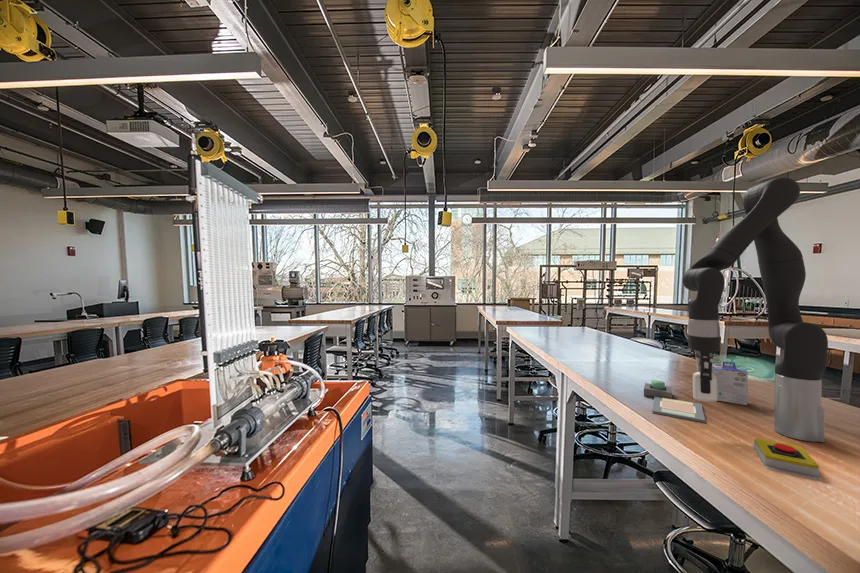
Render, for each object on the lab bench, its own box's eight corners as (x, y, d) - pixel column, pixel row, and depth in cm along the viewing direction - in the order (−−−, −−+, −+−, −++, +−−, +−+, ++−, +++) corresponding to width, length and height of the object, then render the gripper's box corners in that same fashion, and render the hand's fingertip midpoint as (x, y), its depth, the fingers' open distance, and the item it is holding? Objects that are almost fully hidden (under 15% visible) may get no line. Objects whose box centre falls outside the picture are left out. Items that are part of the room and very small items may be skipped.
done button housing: (672, 394, 133) (672, 386, 133) (672, 400, 125) (672, 392, 125) (645, 390, 138) (645, 382, 138) (643, 396, 131) (643, 388, 131)
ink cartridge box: (746, 401, 124) (746, 363, 124) (748, 406, 120) (748, 366, 120) (711, 396, 130) (711, 359, 130) (712, 400, 126) (712, 362, 126)
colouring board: (701, 406, 120) (701, 403, 120) (705, 422, 105) (705, 420, 105) (654, 398, 128) (654, 395, 128) (652, 412, 114) (652, 410, 114)
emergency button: (766, 452, 79) (750, 429, 92) (766, 470, 79) (750, 445, 92) (824, 464, 74) (799, 438, 87) (823, 483, 74) (799, 454, 87)
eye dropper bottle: (716, 404, 96) (715, 362, 97) (692, 399, 100) (691, 360, 100) (717, 400, 100) (716, 360, 100) (694, 396, 104) (693, 357, 104)
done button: (664, 389, 132) (664, 381, 132) (664, 391, 129) (664, 384, 129) (651, 387, 135) (651, 379, 135) (651, 389, 131) (651, 382, 131)
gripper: (723, 338, 92) (724, 400, 92) (717, 332, 104) (718, 387, 104) (689, 336, 96) (690, 395, 96) (686, 330, 108) (688, 383, 108)
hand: (704, 390), depth 100 cm, fingers closed on eye dropper bottle, 3 cm apart
